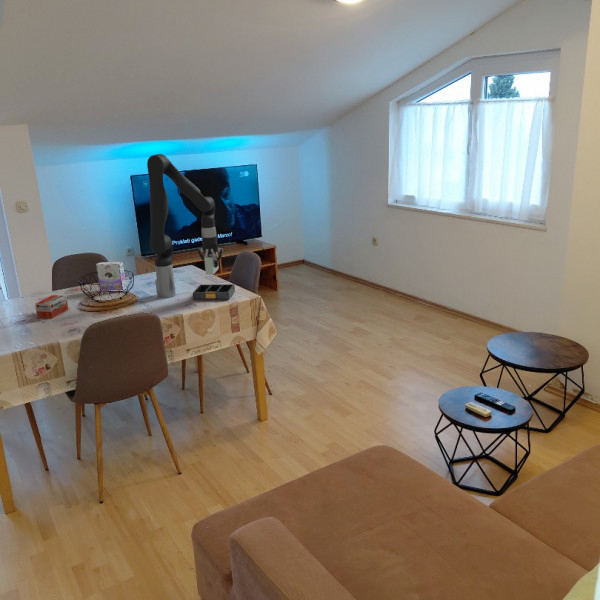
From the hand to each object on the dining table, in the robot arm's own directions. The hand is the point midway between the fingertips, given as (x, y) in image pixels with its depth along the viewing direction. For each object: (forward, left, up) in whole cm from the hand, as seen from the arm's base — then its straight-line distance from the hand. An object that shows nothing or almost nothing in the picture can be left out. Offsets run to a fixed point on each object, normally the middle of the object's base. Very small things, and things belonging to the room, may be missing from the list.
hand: (212, 267), depth 308 cm
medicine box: (-77, -29, -16) cm, 84 cm away
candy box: (-62, +12, -16) cm, 65 cm away
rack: (0, 0, -16) cm, 16 cm away
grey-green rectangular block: (0, 0, -2) cm, 2 cm away
